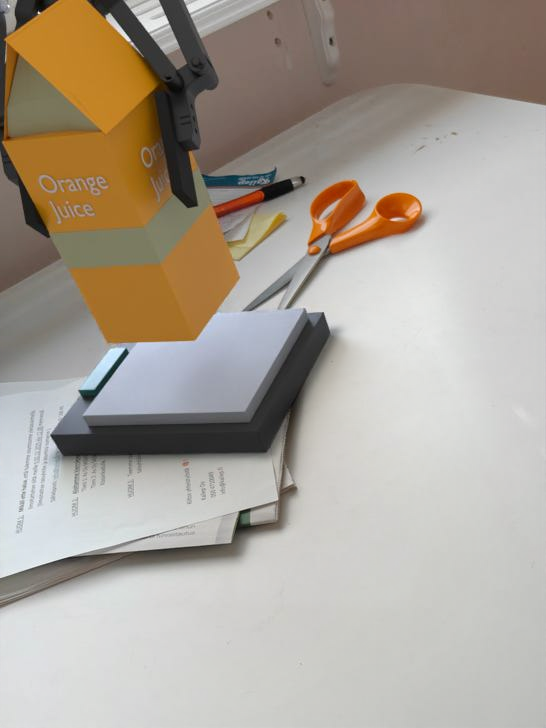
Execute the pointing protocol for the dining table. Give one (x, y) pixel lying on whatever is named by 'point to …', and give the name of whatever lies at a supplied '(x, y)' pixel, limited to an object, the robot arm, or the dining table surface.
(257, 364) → the scale
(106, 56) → the orange juice
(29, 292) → the dining table surface
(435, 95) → the dining table surface
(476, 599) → the dining table surface
